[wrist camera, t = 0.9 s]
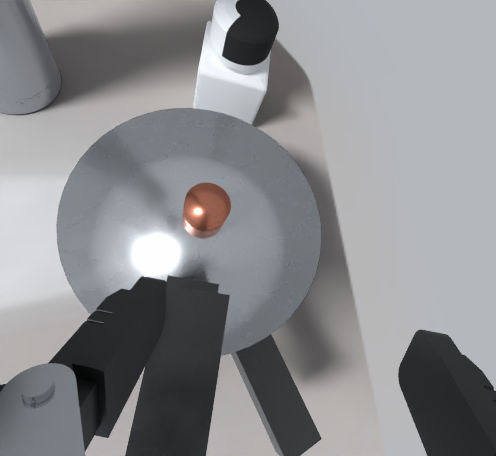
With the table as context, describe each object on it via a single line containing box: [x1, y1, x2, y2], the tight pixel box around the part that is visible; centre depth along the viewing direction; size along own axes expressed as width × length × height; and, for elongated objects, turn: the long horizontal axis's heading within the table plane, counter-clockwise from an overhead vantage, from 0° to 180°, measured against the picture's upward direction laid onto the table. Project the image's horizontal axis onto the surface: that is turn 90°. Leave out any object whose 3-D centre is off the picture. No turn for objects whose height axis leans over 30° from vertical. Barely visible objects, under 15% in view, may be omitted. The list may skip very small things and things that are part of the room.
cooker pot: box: [231, 334, 321, 456], centre depth 29 cm, size 27×18×11 cm, turn 27°
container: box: [193, 0, 279, 125], centre depth 36 cm, size 8×8×13 cm
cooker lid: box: [57, 108, 321, 456], centre depth 18 cm, size 28×19×9 cm, turn 172°
